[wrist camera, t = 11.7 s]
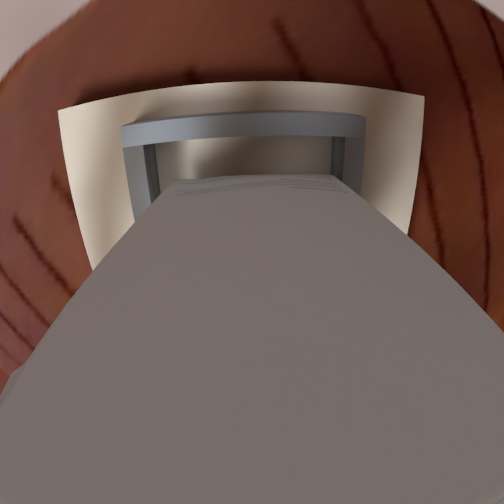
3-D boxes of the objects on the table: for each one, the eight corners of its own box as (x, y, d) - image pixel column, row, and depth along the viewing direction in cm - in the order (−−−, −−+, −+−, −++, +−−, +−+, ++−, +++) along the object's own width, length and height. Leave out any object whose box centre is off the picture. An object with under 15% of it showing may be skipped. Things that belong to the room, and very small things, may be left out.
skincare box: (186, 277, 17) (108, 564, 4) (172, 170, 14) (-66, 475, 1) (336, 274, 17) (427, 554, 4) (345, 166, 14) (596, 452, 1)
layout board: (411, 94, 15) (444, 99, 12) (382, 289, 22) (401, 320, 19) (70, 107, 14) (38, 115, 11) (114, 302, 21) (100, 335, 18)
